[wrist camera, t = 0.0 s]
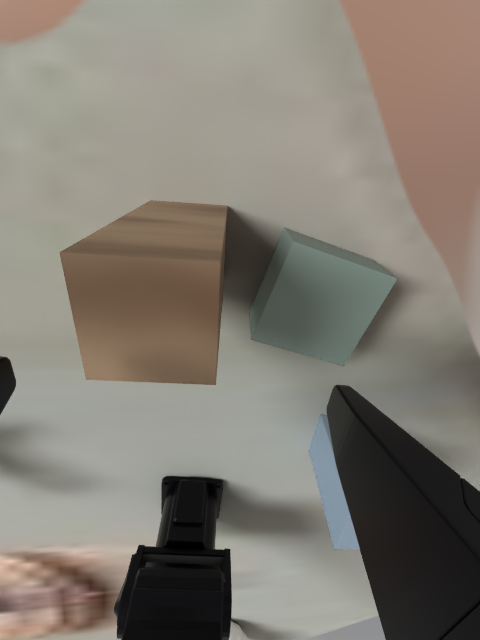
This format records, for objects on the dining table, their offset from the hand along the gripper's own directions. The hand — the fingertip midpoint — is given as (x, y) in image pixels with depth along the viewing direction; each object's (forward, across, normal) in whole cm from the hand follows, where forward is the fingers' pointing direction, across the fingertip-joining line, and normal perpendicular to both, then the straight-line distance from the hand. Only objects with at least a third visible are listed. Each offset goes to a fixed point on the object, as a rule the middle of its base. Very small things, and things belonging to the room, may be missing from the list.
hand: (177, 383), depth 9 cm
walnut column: (+15, +2, 0) cm, 15 cm away
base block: (+15, -8, +2) cm, 17 cm away
